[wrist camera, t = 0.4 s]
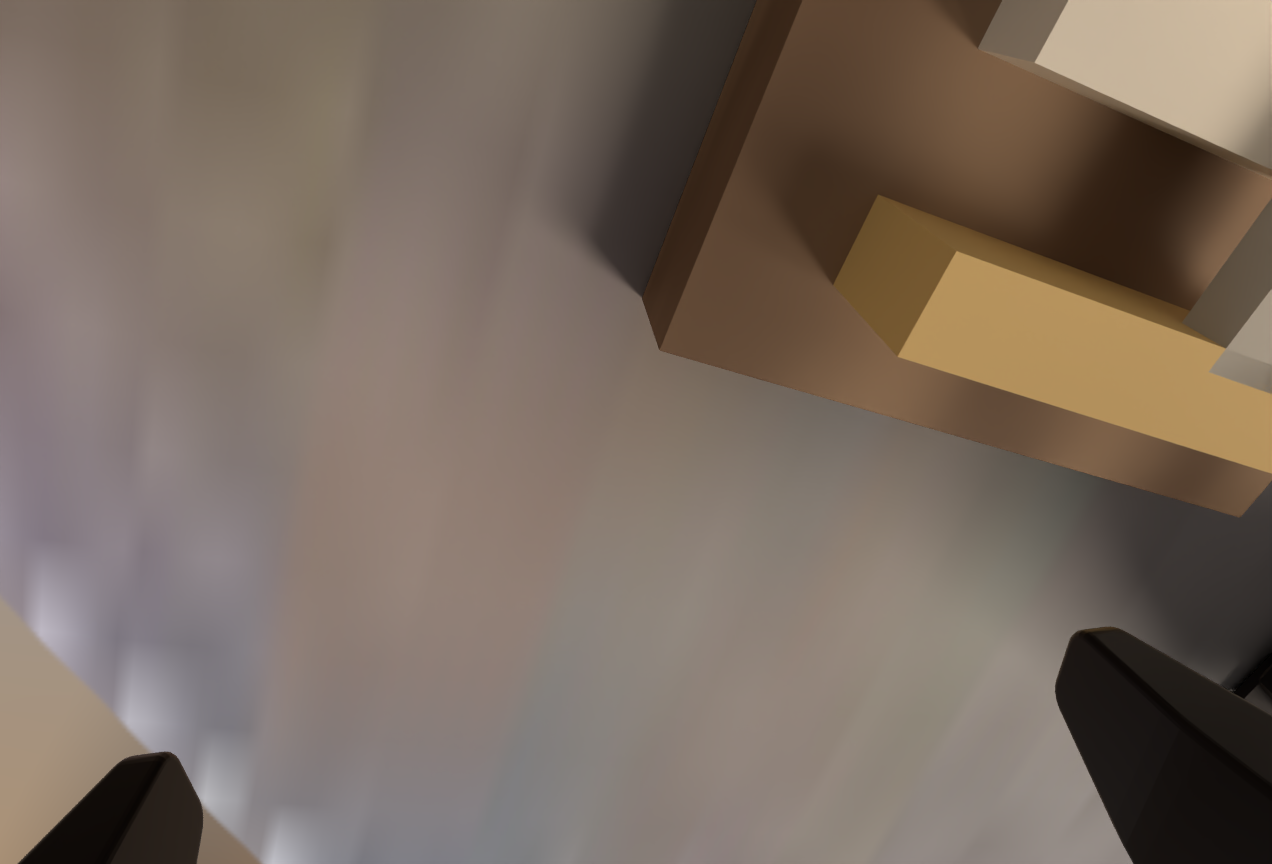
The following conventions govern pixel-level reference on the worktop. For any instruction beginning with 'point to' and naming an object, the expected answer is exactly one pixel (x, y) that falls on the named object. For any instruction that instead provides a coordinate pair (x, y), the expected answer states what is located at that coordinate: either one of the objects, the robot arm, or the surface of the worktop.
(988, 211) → the base box
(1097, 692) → the robot arm
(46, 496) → the worktop surface
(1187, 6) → the cover
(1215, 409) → the tan rectangular block
